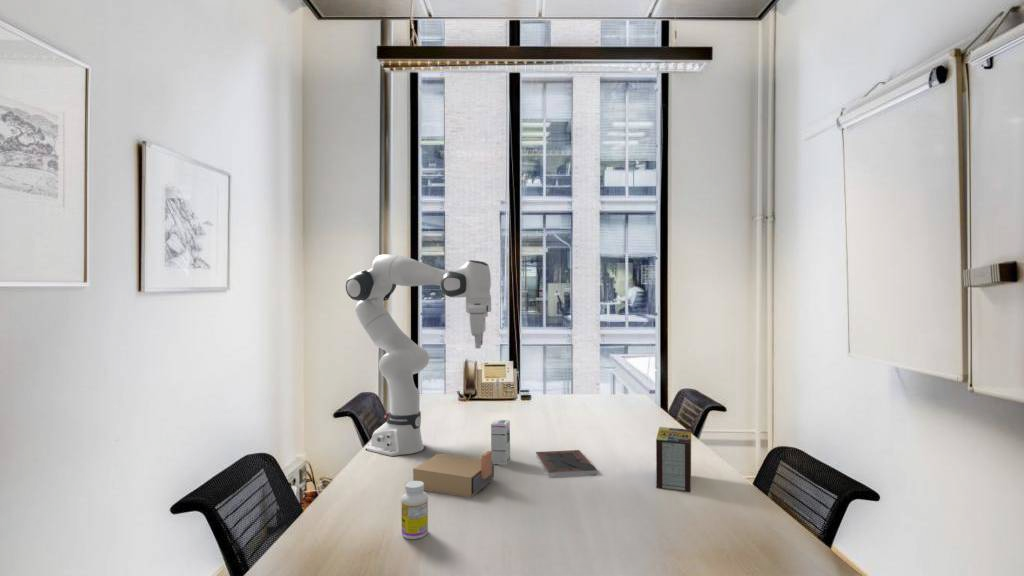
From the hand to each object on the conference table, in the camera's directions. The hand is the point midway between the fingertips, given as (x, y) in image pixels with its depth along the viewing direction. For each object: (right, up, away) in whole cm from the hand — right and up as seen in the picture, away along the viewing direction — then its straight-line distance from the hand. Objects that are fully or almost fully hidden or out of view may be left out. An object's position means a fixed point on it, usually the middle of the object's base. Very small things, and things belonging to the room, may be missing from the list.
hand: (479, 346), depth 185 cm
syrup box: (+7, -42, +5) cm, 43 cm away
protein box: (+64, -42, -14) cm, 78 cm away
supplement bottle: (-13, -43, -50) cm, 67 cm away
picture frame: (+30, -43, +2) cm, 52 cm away
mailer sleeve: (-7, -42, -15) cm, 45 cm away
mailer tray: (-6, -41, -16) cm, 44 cm away
